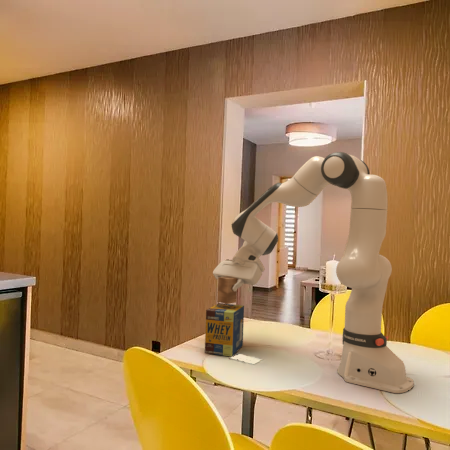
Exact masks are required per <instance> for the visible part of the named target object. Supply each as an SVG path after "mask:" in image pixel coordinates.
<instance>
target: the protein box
mask: <svg viewBox="0 0 450 450" xmlns="http://www.w3.org/2000/svg"><path fill="white" fill-rule="evenodd" d="M244 313H245V305H241V304H234V303H230V304H225V303H221V302H217V304H214V305H213V306H211V307H209V308H208V309H206V310H205V333H204V337H205V338H204V354H208V355H215V356H216V355H219V356H225V357H232V356H234V355H236V354H237V352H238V351H239V350H240V349H241V348H242V347H243V346H244V343H243V342H244V320H245V318H244V317H245V315H244Z"/></svg>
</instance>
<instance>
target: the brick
mask: <svg viewBox="0 0 450 450" xmlns="http://www.w3.org/2000/svg"><path fill="white" fill-rule="evenodd" d="M236 283H237V278H232V277H218V279H217V296H216V297H217V298H216V299H217V300H216V301H217V303H223V304H235V303H237V298H238V295H237V293H238V289H237V290H236V291H232V290H231V287H232V285H235V284H236Z"/></svg>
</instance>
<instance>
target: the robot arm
mask: <svg viewBox="0 0 450 450" xmlns="http://www.w3.org/2000/svg"><path fill="white" fill-rule="evenodd" d="M294 173H295V174H294V175H293V176H292V177H291V178H290V179H288V180H287V181H285V182H276V183H275V184H273V185H272V186H270V187H269V188H268V189H267V190H266V191H264V192H263V193H262V194H261V195H260V196H259V197H258V198H257V199H255V201H253V202H252V203H251V204H250V205H248V207H247V208H245V209H244V210H243V211H241V212H239V214H237V215H236V216H235V217H234V219H233V220H232V222H231V230H232V232H233V234H234V235H235V236H236V237H239V238H240V239H242V240H243V244H242V246H241V247H240V248H238V250H236V251H237V252H236V253H235V254H234V256H233V257H232V259H224V260H222V261H220V263H218V264H217V266H216V267H215V268H214V269H213V271H212V275H213V277H214V278H215V279H216V280H218V277H232V278H237V283H236V284H235V285H232V287H231V290H232V291H236V290H237V291H238V289H240V288H241V287H242V286H243V285H250V286H255V285H257V284H258V283H259V281H260V280H261V277H262V275H263V273H264V272H265V270H266V269H265V266H264V264H263V263H262V261H261V259H260V257H261V256H266V255H270V254H271V253H273V250H274V249H275V247H276V245H277V244H278V242H279V234H278V232H276V231H275V230H274V229H273V228H272V227H271V226H269V225H267V224H266V223H264V222H263V221H262V220H261V219H259V218H258V217H257V215H258V213H260V212H261V211H262V210H263V209H264V208H266V206H268V205H269V204H272V203H280V204H284V205H287V206H290V207H295V208H303V207H308V206H309V205H310V204H311V203H313V201H314V200H316V198H317V197H318V196H319V195H320V193H321V192H323V190H324V189H325V188H326V187H327V186H328V185H332V186H335V187H338V188H341V189H343V190H344V189H345V190H348V191H349V193H350V197H351V199H350V200H351V204H350V217H349V229H348V235H347V240H346V244H345V247H344V250H343V254H342V256H341V258H340V260H339V261H338V263H337V266H336V268H335V269H336V270H335V273H336V277H337V279H338V281H339V282H340V283H341V285H343V286H345V287H347V288H349V289H351V291H350V293H349V297H348V299H347V301H346V302H345V311H344V327H343V329H342V339H341V340H342V351H341V358H340V362H339V365H338V368H337V374H338V375H339V376H340V377H342V378H343V380H344V381H345V382H347V383H350V384H355V385H359V386H362V387H363V386H364V387H368V388H372V389H374V390H375V389H376V390H380V391H384V392H389V393H393V394H402V393H406V392H409V391H411V388H412V387H413V388H414V386H415V383H414V380H413V379H412V378H411V377H408V376H407V371H406V370H407V369H406V365H405V363H404V360H402V359H401V358H400V357H399V356H398V355H397V354H395V352H393V350H392V349H390V348H389V347H388V346H387V344H388V340H389V335H386V336H385V335H384V334H383V333H382V317H383V316H382V315H383V307H384V306H383V305H384V301H385V296H386V293H387V288H388V282H389V279H390V277H391V275H392V272H393V271H392V270H393V269H392V268H393V267H392V264H391V261H390V260H389V259H388V258H387V257H385V256H384V255H382V254H380V251H381V248H382V244H383V241H384V239H385V238H386V234H387V221H388V191H387V183H386V181H385V179H384V178H383V177H381V176H379V175H376V174H370V169H369V166H368V165H367V164H366V162H365V161H363V160H361V159H359V158H358V157H357V156H356V155H353V154H349V153H347V152H343V151H335V152H331V153H330V154H328V155H327V156H326V157H323V156H318V155H315V156H312V157H311V158H309V159H308V160H307V161H305V163H303V165H302V166H300V168H299V169H298V170H297V171H296V172H294ZM413 385H414V386H413ZM413 388H412V389H413ZM408 390H409V391H408Z"/></svg>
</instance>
